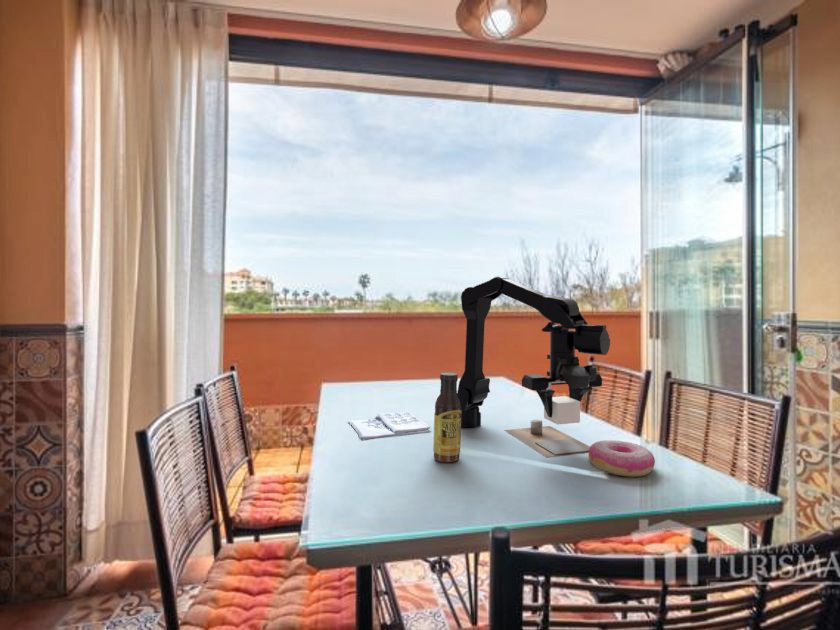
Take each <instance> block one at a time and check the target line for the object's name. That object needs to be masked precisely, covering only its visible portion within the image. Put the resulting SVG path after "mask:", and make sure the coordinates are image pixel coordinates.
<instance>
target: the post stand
mask: <svg viewBox="0 0 840 630" xmlns="http://www.w3.org/2000/svg"><path fill="white" fill-rule="evenodd" d="M503 431H505V432H506V433H507V434H509V435H511V436H512V437H514V438H515V439H517V440H518V441H520V442H521V443H523V444H524V445H526V446H528V447H529V448H531V449H532V450H534V451H536V452H538V454H541V455H542V456H543V457H545V458H554V457H555V458H556V457H564V456H572V455H582V454H588V450H589V448H590V446H591V445H588V444H586V443H584V442H582V441H580V440H578V439H576V438H574V437H572V436H570V435H569V434H566V433H565V432H563V431H561V430H559V429H557V428H554V427H553V426H551V425H548V426H545V425H544V426H543V420H539V419H532V420H530V427H526V428H525V427H524V428H515V429H514V428H513V429H512V428H511V429H504V430H503Z"/></svg>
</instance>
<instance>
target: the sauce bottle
mask: <svg viewBox="0 0 840 630" xmlns="http://www.w3.org/2000/svg"><path fill="white" fill-rule="evenodd" d="M458 379H459V377H458V373H456V372H441V373H439V380H440V389H439V390H440V391H439V395H438V397H437V398H436V401H435V403H434V404H435V405H434V416H433V417H434V419H433V421H434V422H433V459H434V460H436V461H437V462H440V463H454V462H456V461H459V459H460V454H461V441H462V439H461V437H462V428H461V406H460V401H459V398H458V395H457V392H458V387H457V386H458V385H457V384H458Z"/></svg>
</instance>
